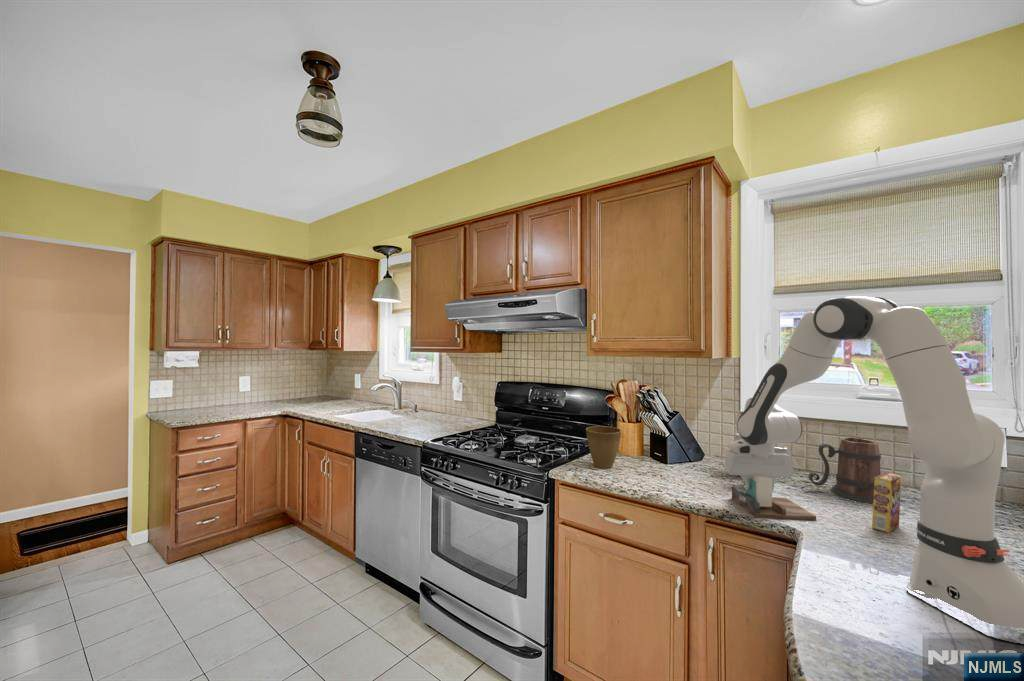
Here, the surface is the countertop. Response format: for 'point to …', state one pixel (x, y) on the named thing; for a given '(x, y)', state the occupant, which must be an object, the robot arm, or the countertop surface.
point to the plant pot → (603, 445)
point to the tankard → (853, 469)
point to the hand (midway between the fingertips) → (758, 489)
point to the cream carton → (761, 490)
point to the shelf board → (779, 509)
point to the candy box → (886, 502)
